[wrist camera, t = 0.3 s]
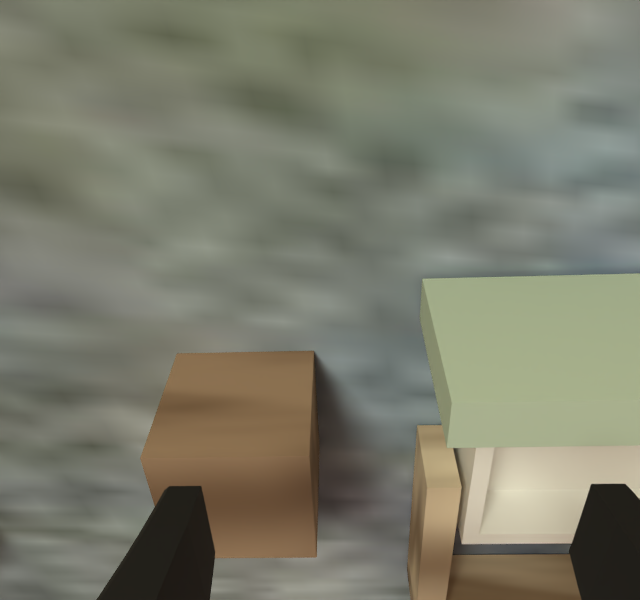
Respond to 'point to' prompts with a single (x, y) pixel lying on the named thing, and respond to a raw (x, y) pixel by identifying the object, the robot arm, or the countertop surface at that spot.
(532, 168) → the countertop surface
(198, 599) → the robot arm
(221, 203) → the countertop surface
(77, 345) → the countertop surface
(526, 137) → the countertop surface
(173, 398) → the walnut block
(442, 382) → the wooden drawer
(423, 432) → the organiser frame
